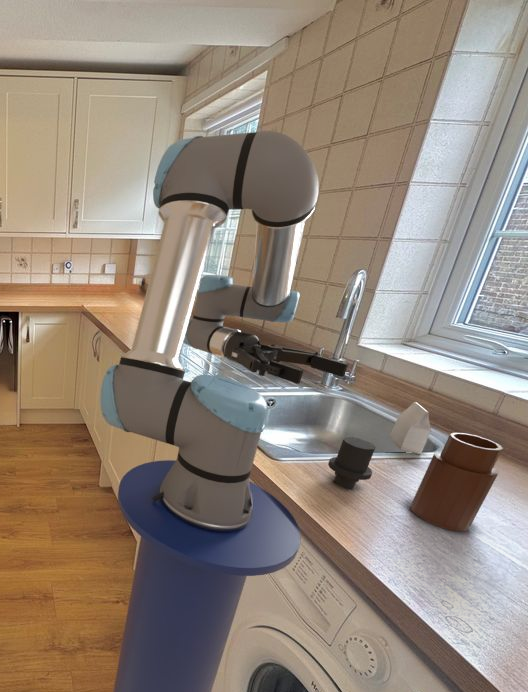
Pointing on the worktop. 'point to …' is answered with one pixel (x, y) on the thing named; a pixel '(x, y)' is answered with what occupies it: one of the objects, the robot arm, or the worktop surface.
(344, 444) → the bung
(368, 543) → the worktop surface
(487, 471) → the brown stepped cylinder
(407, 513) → the worktop surface
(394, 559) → the worktop surface
